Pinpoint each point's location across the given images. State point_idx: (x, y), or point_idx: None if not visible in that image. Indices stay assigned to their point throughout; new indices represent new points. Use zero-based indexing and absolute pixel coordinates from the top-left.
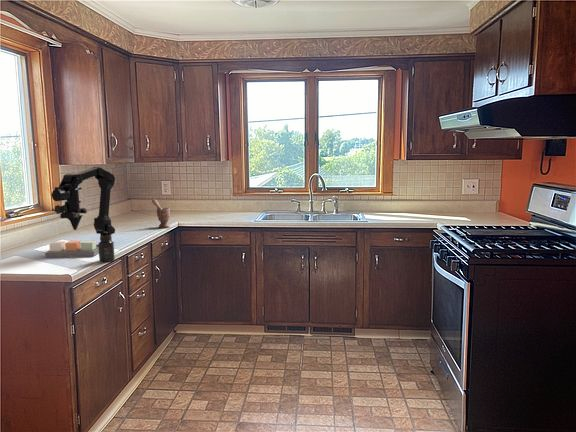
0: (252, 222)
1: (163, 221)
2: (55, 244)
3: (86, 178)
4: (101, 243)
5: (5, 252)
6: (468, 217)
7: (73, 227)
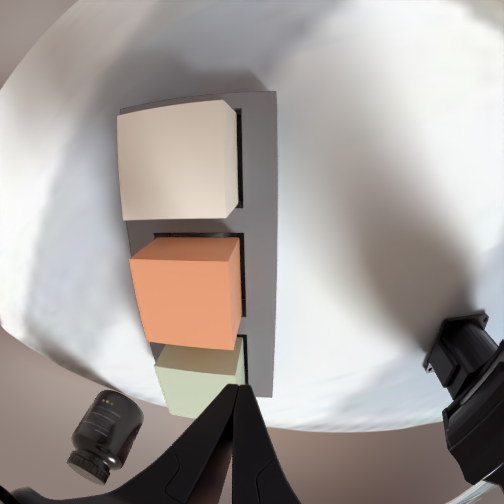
0: None
1: None
2: (123, 171)
3: None
4: (72, 443)
5: None
6: None
7: (210, 410)
